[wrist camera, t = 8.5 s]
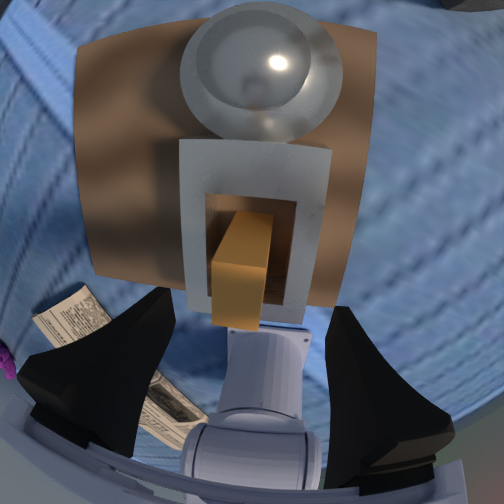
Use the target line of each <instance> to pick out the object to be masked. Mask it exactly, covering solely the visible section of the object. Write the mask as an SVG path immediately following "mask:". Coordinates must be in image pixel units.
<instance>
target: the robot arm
mask: <svg viewBox="0 0 504 504" xmlns="http://www.w3.org/2000/svg"><path fill="white" fill-rule="evenodd" d="M175 323H176V319H175V313H174V308H173V302H172V296H171V290H170V288H166V287H159V286H158V287H156V288H155V289H154V290H152V291H151V292H150V293H148V294H147V295H146V296H144V297H143V298H142V299H141V300H139V301H138V302H137V303H135V304H134V305H133V306H131V307H130V308H129V309H127V310H126V311H125V312H123V313H122V314H120V315H119V316H118V317H116V318H115V319H113V320H112V321H110V322H109V323H107V324H106V325H104V326H103V327H101V328H99V329H97V330H96V331H94V332H92V333H90V334H88V335H87V336H84V337H82V338H80V339H78V340H76V341H74V342H72V343H69V344H67V345H64V346H62V347H59V348H56V349H53V350H50V351H47V352H43V353H39V354H35V355H31V356H29V358H28V359H27V360H26V362H25V363H24V365H23V366H22V368H21V369H20V371H19V372H18V374H17V380H18V381H19V383H20V384H21V386H22V387H23V388H24V389H25V390H26V392H27V393H28V394H29V395H30V396H31V397H32V398H33V399H34V401H35V402H36V404H35V406H34V407H33V406H32V405H31V404H30V403H28V402H27V401H26V400H24V399H23V398H21V397H20V396H18V395H17V394H16V393H14V394H13V396H12V398H11V399H10V401H9V403H8V405H7V406H6V408H5V409H4V411H3V413H2V414H1V416H0V437H1V438H2V439H3V440H4V441H5V442H6V443H7V444H9V445H10V446H11V447H12V448H13V449H14V450H16V451H17V452H18V453H19V454H20V455H21V456H22V457H24V458H25V459H26V460H27V461H28V462H30V463H31V464H32V465H33V466H35V467H36V468H37V469H38V470H40V471H41V472H43V473H44V474H45V475H47V476H48V477H49V478H51V479H52V480H54V481H55V482H57V483H58V484H59V485H61V486H62V487H64V488H65V489H67V490H68V491H70V492H72V493H73V494H75V495H77V496H78V497H80V498H82V499H83V500H85V501H87V502H89V503H90V504H182V503H178V502H175V501H171V500H167V499H164V498H160V497H157V496H154V492H153V490H151V489H148V488H146V487H144V486H143V485H141V484H139V483H138V482H137V481H136V480H133V479H131V478H129V477H126V476H124V475H122V474H120V473H118V472H116V471H115V470H117V471H119V472H122V473H124V474H127V475H130V476H132V477H135V478H138V479H140V480H143V481H146V482H149V483H152V484H155V485H158V486H162V487H165V488H169V489H172V490H176V491H180V492H183V493H184V499H185V504H468V501H467V493H466V485H465V478H464V472H463V467H462V461H461V460H460V459H459V460H456V461H453V462H450V463H447V464H444V465H441V466H438V467H436V468H434V469H433V464H432V463H434V462H435V461H436V456H435V453H437V452H438V451H439V450H440V449H442V448H444V447H445V446H446V445H448V444H449V443H450V442H451V441H452V440H453V439H454V437H455V430H454V426H453V423H452V419H451V416H450V415H449V414H448V413H446V412H445V411H443V410H442V409H440V408H438V407H437V406H435V405H434V404H432V403H431V402H430V401H428V400H427V399H426V398H424V397H423V396H422V395H421V394H419V393H418V392H417V391H416V390H415V389H413V388H412V387H411V386H410V385H409V384H408V383H407V382H406V381H405V380H404V379H403V378H402V377H401V376H400V375H399V374H398V373H397V372H396V371H395V370H394V369H393V368H392V367H391V366H390V365H389V363H388V362H387V361H386V360H385V359H384V357H383V356H382V355H381V354H380V352H379V351H378V350H377V348H376V347H375V346H374V344H373V343H372V341H371V340H370V338H369V337H368V336H367V334H366V333H365V331H364V330H363V328H362V327H361V325H360V324H359V322H358V320H357V319H356V317H355V316H354V314H353V313H352V311H351V310H350V308H349V307H345V306H335V308H334V311H333V315H332V318H331V321H330V325H329V328H328V331H327V334H326V337H325V361H326V369H327V378H328V386H329V395H330V407H331V416H330V440H329V452H328V462H327V469H326V476H325V483H324V489H323V490H322V489H320V490H317V489H318V485H319V480H320V474H321V443H320V440H319V438H318V437H317V436H316V435H315V434H314V432H312V431H306V432H305V420H302V369H303V366H304V363H305V359H306V356H307V353H308V349H309V346H310V343H311V339H312V332H310V331H307V330H296V329H285V328H275V327H266V326H259V328H258V332H257V331H250V330H243V329H236V328H230V327H227V343H228V367H227V371H226V375H225V379H224V383H223V387H222V391H221V395H220V400H219V404H218V408H217V412H216V413H210V415H209V419H208V423H204V422H201V423H199V424H197V425H196V426H195V427H194V428H192V429H191V430H190V432H189V433H188V435H187V437H186V439H185V442H184V445H183V449H182V454H181V460H180V474H177V473H173V472H170V471H166V470H163V469H159V468H156V467H153V466H150V465H147V464H144V463H141V462H138V461H135V460H132V459H130V458H131V457H133V451H134V445H135V439H136V434H137V429H138V424H139V420H140V416H141V412H142V408H143V405H144V401H145V398H146V395H147V391H148V388H149V385H150V383H151V380H152V378H153V376H154V373H155V371H156V369H157V367H158V365H159V363H160V361H161V358H162V356H163V354H164V352H165V350H166V348H167V346H168V344H169V341H170V339H171V336H172V333H173V330H174V326H175ZM231 330H233V331H234V332H233V331H231ZM114 469H115V470H114Z"/></svg>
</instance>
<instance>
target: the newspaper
mask: <svg viewBox="0 0 504 504" xmlns="http://www.w3.org/2000/svg"><path fill="white" fill-rule="evenodd" d="M31 318H32V319H33V321H34V322H35V323H36V324H37V326H38V327H39V328H40V330H41V331H42V332H43V333H44V335H45V336H46V337H47V338H48V339H49V341H50V342H51V343H52V344H53V345H54V346H55V348H59V347H62V346H64V345H67V344H69V343H72V342H74V341H76V340H78V339H80V338H82V337H84V336H87V335H88V334H90V333H92V332H94V331H96V330H97V329H99V328H101V327H103V326H104V325H106V324H107V323H109V322H110V321H112V319H111V318H110V317H109V315H108V314H107V313H106V312H105V310H104V309H103V308H102V307H101V305H100V304H99V303H98V301H97V300H96V299H95V297H94V296H93V295H92V293H91V292H90V291H89V289H88V288H87V287H86V285H85V284H84V286H83V287H82V288H81V289H80V290H79V291H78V292H76V293H75V294H73V295H72V296H70V297H69V298H67V299H65V300H63V301H62V302H60V303H58V304H57V305H55V306H53V307H52V308H50V309H48V310H47V311H45V312H43V313H41V314H37V313H35V314H34V315H33V316H32V317H31ZM208 419H209V417H208V416H206V415H205V414H204V413H203V412H202V411H201V410H199V409H198V408H197V407H196V406H195V405H194V404H192V403H191V402H190V401H189V400H188V399H187V398H186V397H185V396H184V395H182V394H181V393H180V392H179V391H178V390H177V389H176V388H175V387H174V386H173V385H172V384H171V383H170V382H169V381H168V380H167V379H166V378H165V377H164V376H163V375H162V374H161V373H160V372H159V371H158V370H157V369H156V371H155V373H154V376H153V378H152V380H151V383H150V385H149V388H148V391H147V395H146V398H145V401H144V405H143V408H142V412H141V416H140V420H139V424H138V425H140V426H141V427H142V428H144V429H145V430H147V431H148V432H149V433H151V434H152V435H154V436H155V437H156V438H158V439H159V440H161V441H162V442H164V443H165V444H167V445H168V446H170V447H172V448H173V449H176V450H182V449H183V445H184V442H185V439H186V437H187V435H188V433H189V432H190V430H191V429H192V428H194V427H195V426H196V425H197V424H199V423H201V422H204V423H208Z"/></svg>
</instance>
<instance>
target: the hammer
mask: <svg viewBox="0 0 504 504" xmlns="http://www.w3.org/2000/svg"><path fill="white" fill-rule="evenodd" d="M440 1H441V3H442V5H443V7H444V8H445V9H447V10H455V11H464V12H479V11H492V10H499V9H504V0H440Z"/></svg>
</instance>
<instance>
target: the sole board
mask: <svg viewBox="0 0 504 504" xmlns="http://www.w3.org/2000/svg"><path fill="white" fill-rule="evenodd" d="M208 19H210V18H201V19H192V20H184V21H177V22H171V23H165V24H159V25H154V26H149V27H144V28H140V29H136V30H132V31H128V32H124V33H120V34H117V35H113V36H110V37H107V38H103V39H100V40H97V41H94V42H91V43H88V44H86V45H83V46H80V47H78V49H77V58H76V70H75V86H74V138H75V155H76V167H77V177H78V186H79V194H80V201H81V207H82V214H83V220H84V225H85V230H86V236H87V240H88V245H89V250H90V254H91V259H92V263H93V267H94V271H95V275H99V276H104V277H110V278H115V279H120V280H126V281H131V282H137V283H143V284H149V285H155V286H161V287H167V288H173V289H180V290H186V285H185V273H184V261H183V247H182V230H181V209H180V176H179V139H182V138H186V137H190V136H195V135H217V134H215V133H213V132H212V131H210V130H209V129H207V128H206V127H205V126H204V125H203V124H202V123H201V122H200V121H199V120H198V119H197V118H196V117H195V116H194V114H193V113H192V112H191V110H190V108H189V107H188V105H187V103H186V101H185V99H184V96H183V92H182V89H181V83H180V66H181V60H182V57H183V53H184V51H185V48H186V46H187V44H188V42H189V41H190V39H191V37H192V36H193V34H194V33H195V32H196V31H197V30H198V28H199V27H200V26H201V25H203V24H204V23H205V22H206V21H207V20H208ZM317 22H318V23H320V24H321V25H322V26H323V27H324V28H325V30H326V31H327V32H328V33H329V35H330V36H331V37H332V39H333V40H334V42H335V44H336V46H337V48H338V51H339V54H340V57H341V61H342V67H343V80H342V87H341V91H340V94H339V97H338V99H337V102H336V104H335V106H334V107H333V109H332V110H331V112H330V113H329V115H328V116H327V117H326V118H325V119H324V120H323V122H322V123H320V124H319V125H318V126H317V127H316V128H315V129H313V130H312V131H310V132H309V133H307V134H306V135H304V136H302V137H299V138H297V139H295V140H300V141H308V142H316V143H323V144H325V145H326V146H328V147H329V148H331V149H332V156H331V164H330V172H329V180H328V187H327V194H326V201H325V207H324V213H323V220H322V226H321V232H320V237H319V243H318V249H317V254H316V259H315V265H314V270H313V275H312V280H311V285H310V290H309V294H308V299H307V304H306V305H311V306H322V307H334V308H335V305H336V301H337V298H338V294H339V291H340V287H341V283H342V280H343V276H344V272H345V268H346V264H347V260H348V256H349V252H350V247H351V243H352V239H353V234H354V230H355V225H356V220H357V215H358V210H359V205H360V200H361V194H362V188H363V183H364V177H365V170H366V164H367V157H368V150H369V142H370V134H371V125H372V116H373V105H374V92H375V77H376V48H377V33H376V32H372V31H368V30H364V29H359V28H355V27H350V26H345V25H340V24H335V23H329V22H322V21H317ZM293 204H294V201H290V200H280V199H270V198H260V197H249V196H237V195H223V194H220V197H219V245H220V243H221V241H222V239H223V237H224V235H225V233H226V231H227V229H228V228H229V226H230V224H231V222H232V220H233V218H234V216H235V214H236V212H237V211H246V212H255V213H264V214H272V215H274V218H273V226H272V235H271V243H270V251H269V260H268V267H267V274H266V275H274V276H283V277H284V275H285V268H286V260H287V253H288V245H289V237H290V229H291V221H292V213H293Z"/></svg>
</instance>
